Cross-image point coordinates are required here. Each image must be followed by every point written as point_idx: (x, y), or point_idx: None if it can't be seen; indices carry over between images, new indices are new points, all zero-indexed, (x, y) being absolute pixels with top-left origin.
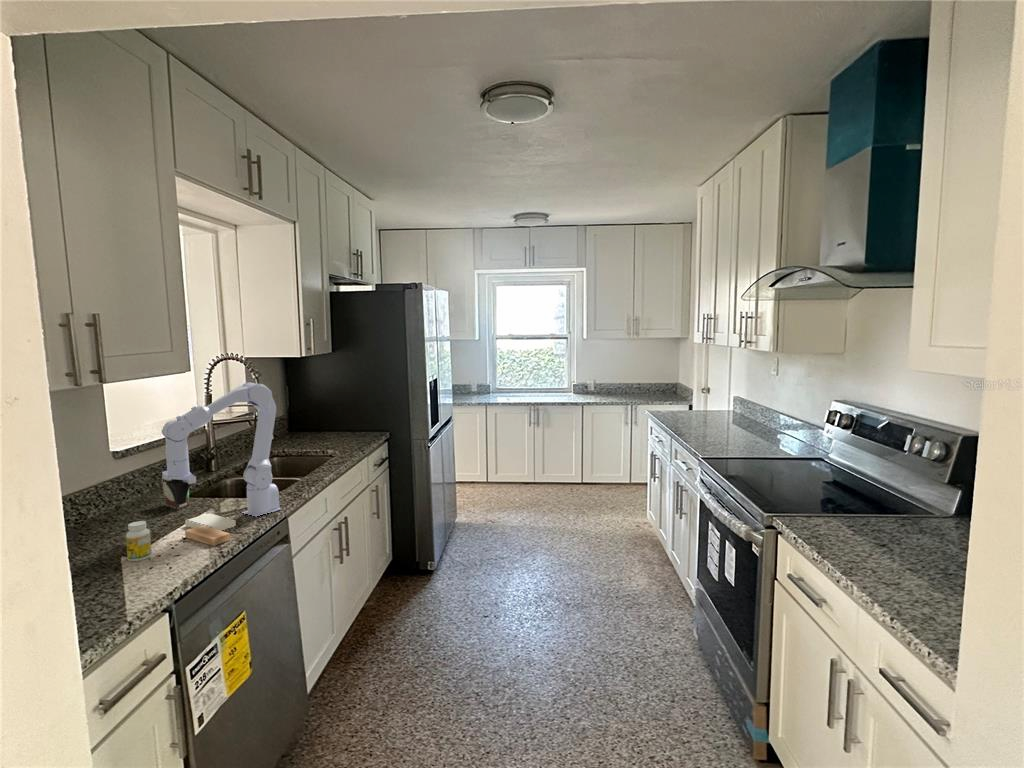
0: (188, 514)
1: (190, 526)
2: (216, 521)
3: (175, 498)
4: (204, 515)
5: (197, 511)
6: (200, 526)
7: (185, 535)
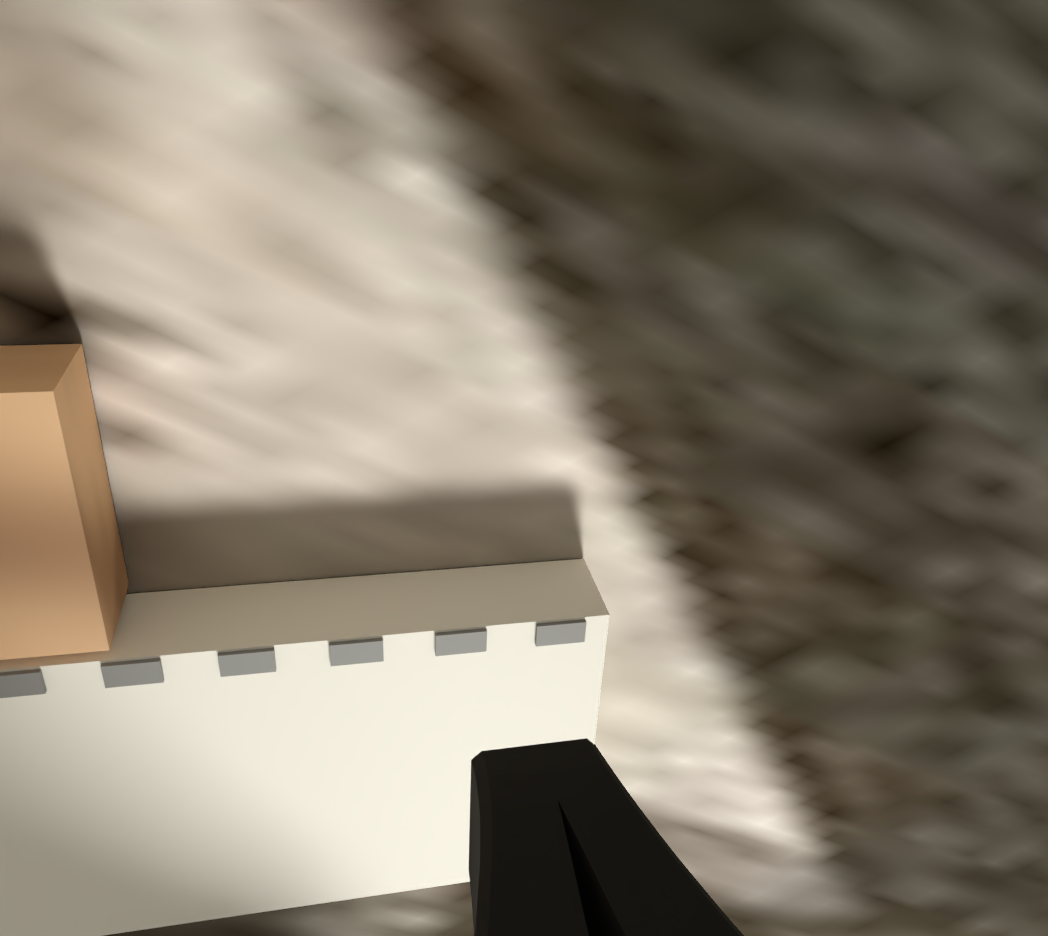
0: (932, 735)
1: (464, 579)
2: (122, 818)
3: (586, 869)
4: None
5: (914, 814)
6: (58, 617)
7: (72, 355)
